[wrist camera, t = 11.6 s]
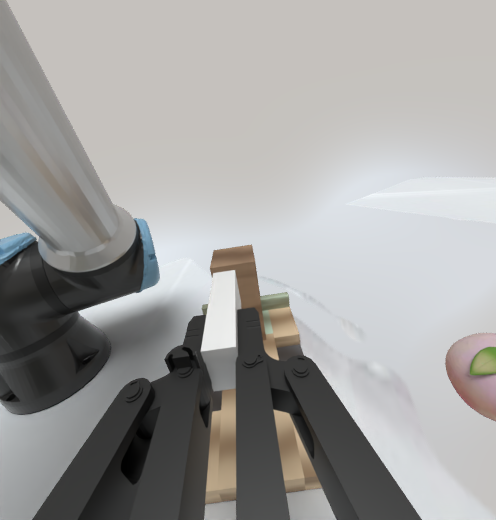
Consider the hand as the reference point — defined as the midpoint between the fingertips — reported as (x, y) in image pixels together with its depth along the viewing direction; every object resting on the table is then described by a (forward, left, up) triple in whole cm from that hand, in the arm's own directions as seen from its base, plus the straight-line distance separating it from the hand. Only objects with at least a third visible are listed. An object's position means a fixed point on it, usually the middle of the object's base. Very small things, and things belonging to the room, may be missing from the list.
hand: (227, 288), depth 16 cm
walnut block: (-14, +7, -19) cm, 25 cm away
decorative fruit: (+12, +23, -21) cm, 33 cm away
